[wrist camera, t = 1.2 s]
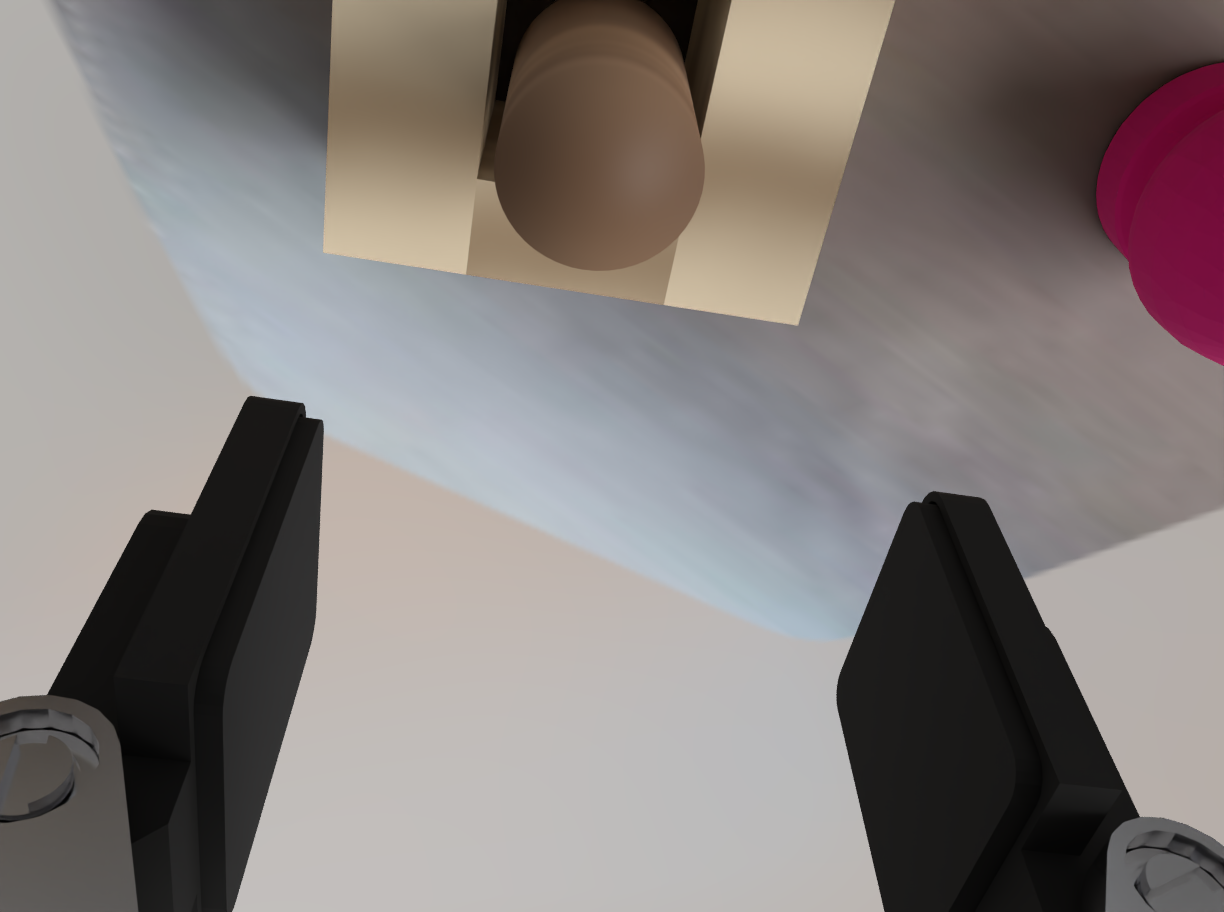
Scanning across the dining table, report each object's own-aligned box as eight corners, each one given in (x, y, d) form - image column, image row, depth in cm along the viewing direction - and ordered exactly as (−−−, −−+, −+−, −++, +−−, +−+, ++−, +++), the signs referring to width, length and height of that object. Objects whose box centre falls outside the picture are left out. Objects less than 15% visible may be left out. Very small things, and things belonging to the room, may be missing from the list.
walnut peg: (524, -25, 26) (507, 49, 21) (701, 7, 26) (726, 88, 21) (503, 148, 28) (482, 253, 23) (666, 176, 28) (681, 285, 23)
